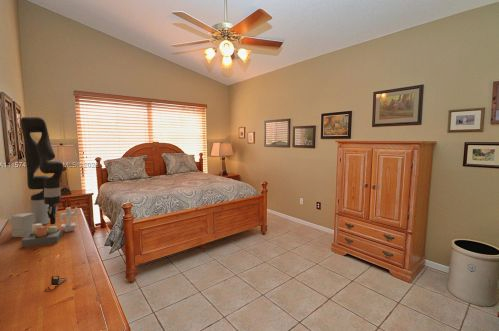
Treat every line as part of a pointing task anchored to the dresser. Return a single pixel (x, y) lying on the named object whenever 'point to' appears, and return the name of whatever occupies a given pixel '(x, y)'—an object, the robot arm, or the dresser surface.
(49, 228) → the green egg
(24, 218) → the supplement box
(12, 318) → the dresser surface
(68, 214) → the figurine
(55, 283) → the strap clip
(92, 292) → the dresser surface
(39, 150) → the robot arm
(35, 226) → the white egg
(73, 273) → the dresser surface
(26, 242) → the grey square tray
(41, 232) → the brown egg
